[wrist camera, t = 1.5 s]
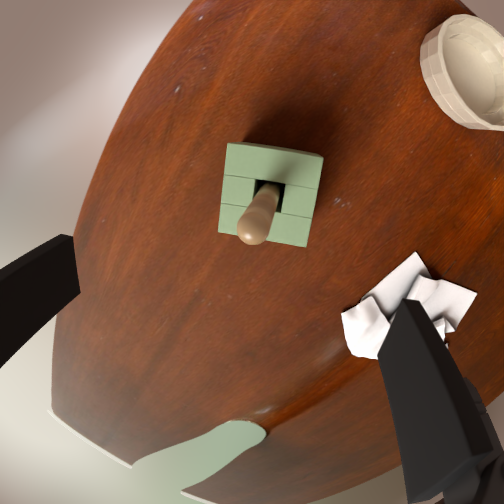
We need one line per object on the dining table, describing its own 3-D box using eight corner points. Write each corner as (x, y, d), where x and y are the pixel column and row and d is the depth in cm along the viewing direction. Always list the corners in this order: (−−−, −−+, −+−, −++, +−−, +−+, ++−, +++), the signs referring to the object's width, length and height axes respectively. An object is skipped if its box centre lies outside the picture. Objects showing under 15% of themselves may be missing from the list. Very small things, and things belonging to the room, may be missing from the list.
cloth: (319, 313, 39) (320, 324, 36) (450, 224, 31) (459, 230, 29) (380, 387, 43) (382, 397, 41) (484, 321, 35) (490, 329, 33)
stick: (266, 174, 33) (235, 214, 16) (283, 177, 33) (270, 220, 16) (264, 190, 34) (231, 246, 17) (281, 193, 33) (265, 252, 17)
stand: (241, 141, 32) (227, 142, 25) (317, 153, 31) (323, 157, 25) (232, 213, 35) (217, 232, 29) (304, 226, 34) (306, 247, 28)
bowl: (418, 11, 21) (436, -5, 16) (501, 55, 20) (524, 49, 14) (413, 106, 27) (434, 102, 21) (497, 143, 26) (523, 148, 20)
